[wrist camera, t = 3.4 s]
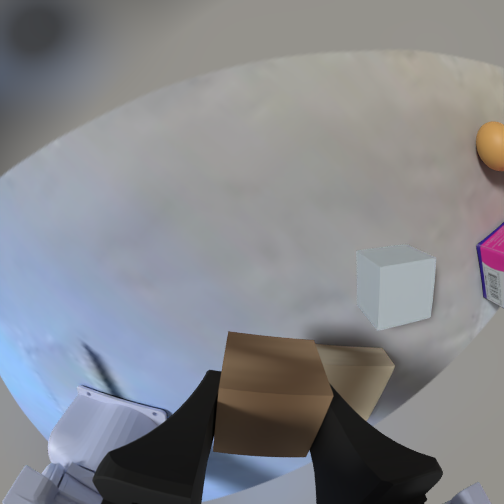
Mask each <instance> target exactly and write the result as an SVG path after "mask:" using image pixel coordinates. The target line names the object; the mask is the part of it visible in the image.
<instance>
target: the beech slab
mask: <svg viewBox="0 0 504 504" xmlns="http://www.w3.org/2000/svg"><path fill="white" fill-rule="evenodd" d="M315 345H316V347H317V350H318V353H319V356H320V358H321V361H322V364H323V367H324V370H325V372H326V375H327V378H328V381H329V383H330V384H331V385H332V386H333V388H334V389H335V390H336V391H337V392H338V393H339V394H340V396H341V397H342V398H343V399H344V400H345V401H346V402H347V403H348V404H349V405H350V406H351V407H352V408H353V409H354V410H355V411H356V412H357V413H358V414H359V415H360V416H361V417H362V418H363V419H364V420H365V421H367V420H368V418H369V416H370V414H371V413H372V411H373V409H374V407H375V405H376V404H377V402H378V400H379V398H380V396H381V394H382V392H383V390H384V388H385V386H386V384H387V382H388V380H389V378H390V376H391V374H392V372H393V370H394V368H395V365H394V364H393V362H392V361H391V359H390V358H389V357H388V355H387V354H386V352H385V351H384V350H383V348H369V347H350V346H334V345H322V344H315Z"/></svg>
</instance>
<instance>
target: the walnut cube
mask: <svg viewBox="0 0 504 504" xmlns="http://www.w3.org/2000/svg"><path fill="white" fill-rule="evenodd" d="M333 396H334V395H333V392H332V390H331V387H330V384H329V381H328V378H327V375H326V372H325V370H324V367H323V364H322V361H321V358H320V356H319V353H318V350H317V347H316V345H315V342H314V340H304V339H292V338H281V337H271V336H262V335H253V334H245V333H237V332H229V331H228V337H227V343H226V348H225V354H224V360H223V366H222V372H221V378H220V384H219V391H218V401H217V412H216V423H215V434H214V446H213V452H220V453H228V454H237V455H249V456H264V457H306V456H307V454H308V452H309V450H310V448H311V445H312V443H313V441H314V439H315V437H316V435H317V433H318V431H319V428H320V426H321V424H322V422H323V420H324V417H325V415H326V413H327V410H328V408H329V406H330V403H331V401H332V398H333Z"/></svg>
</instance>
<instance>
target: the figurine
mask: <svg viewBox="0 0 504 504" xmlns="http://www.w3.org/2000/svg"><path fill="white" fill-rule="evenodd" d="M476 146H477V151H478V154H479V156H480V158H481V159H482V161H483V162H484V163H485V164H486V165H487V166H488V167H489V168H491V169H493V170H496V171H504V125H503V124H501V123H499V122H488V123H486V124H484V125H483V126H482V127H481V128H480V129H479V131H478V133H477V137H476Z"/></svg>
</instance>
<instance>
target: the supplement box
mask: <svg viewBox="0 0 504 504" xmlns="http://www.w3.org/2000/svg"><path fill="white" fill-rule="evenodd" d="M476 247H477V253H478V259H479V265H480V272H481V279H482V287H483V297H484V298H486V299H488V300H490V301H492V302H493V303H495V304H497V305H499V306H500V307H502V308H504V223H502V224H501V225H500V226H499V227H498V228H497V229H496V230H494V231H493V232H492V233H491V234H490V235H489V236H487V237H486V238H485V239H484V240H482V241H481V242H479V243H478V244H477V245H476Z"/></svg>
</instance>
